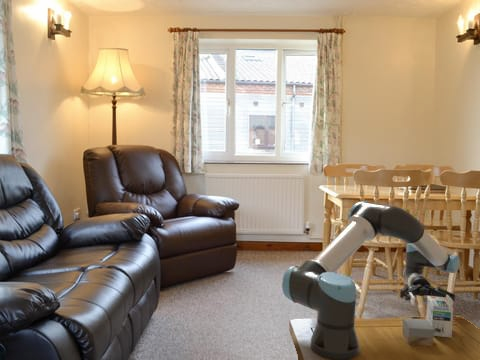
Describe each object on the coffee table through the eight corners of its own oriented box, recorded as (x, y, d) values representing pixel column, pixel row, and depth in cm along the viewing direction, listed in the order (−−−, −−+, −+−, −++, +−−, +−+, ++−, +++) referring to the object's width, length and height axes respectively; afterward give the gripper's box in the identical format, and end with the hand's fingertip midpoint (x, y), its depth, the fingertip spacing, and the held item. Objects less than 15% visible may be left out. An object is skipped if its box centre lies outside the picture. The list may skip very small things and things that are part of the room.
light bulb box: (452, 338, 154) (454, 307, 153) (431, 336, 155) (433, 305, 154) (444, 325, 164) (446, 296, 163) (424, 323, 165) (426, 295, 164)
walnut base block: (407, 345, 149) (408, 336, 148) (402, 334, 157) (402, 326, 156) (432, 347, 148) (433, 338, 147) (426, 336, 156) (426, 328, 155)
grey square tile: (408, 336, 148) (409, 328, 148) (402, 326, 156) (403, 318, 156) (433, 338, 148) (434, 329, 147) (426, 327, 156) (427, 319, 155)
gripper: (449, 295, 188) (467, 315, 167) (387, 291, 192) (397, 310, 171) (451, 277, 187) (468, 295, 166) (388, 273, 191) (398, 290, 170)
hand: (432, 303), depth 169 cm, fingers open, 13 cm apart
